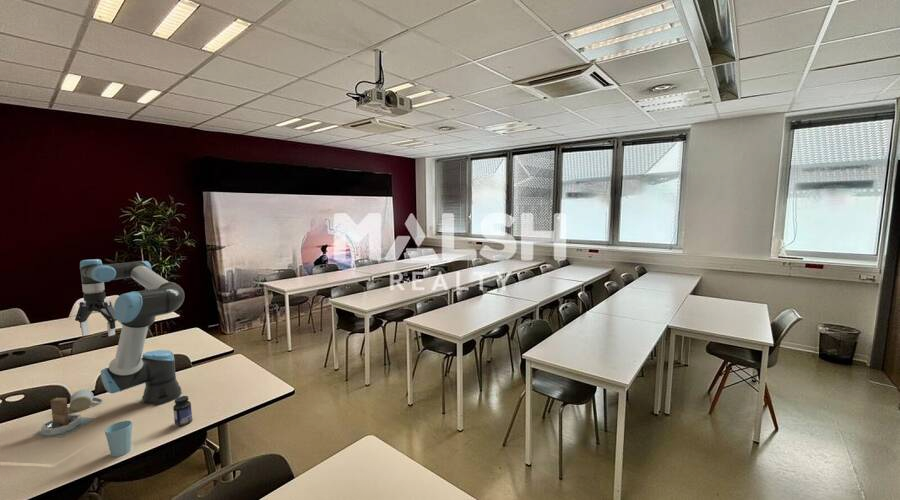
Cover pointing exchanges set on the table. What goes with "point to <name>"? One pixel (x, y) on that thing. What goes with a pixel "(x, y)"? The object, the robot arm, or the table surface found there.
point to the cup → (119, 438)
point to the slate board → (83, 421)
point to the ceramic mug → (83, 400)
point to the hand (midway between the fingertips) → (98, 335)
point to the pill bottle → (182, 411)
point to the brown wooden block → (60, 411)
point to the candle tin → (56, 429)
